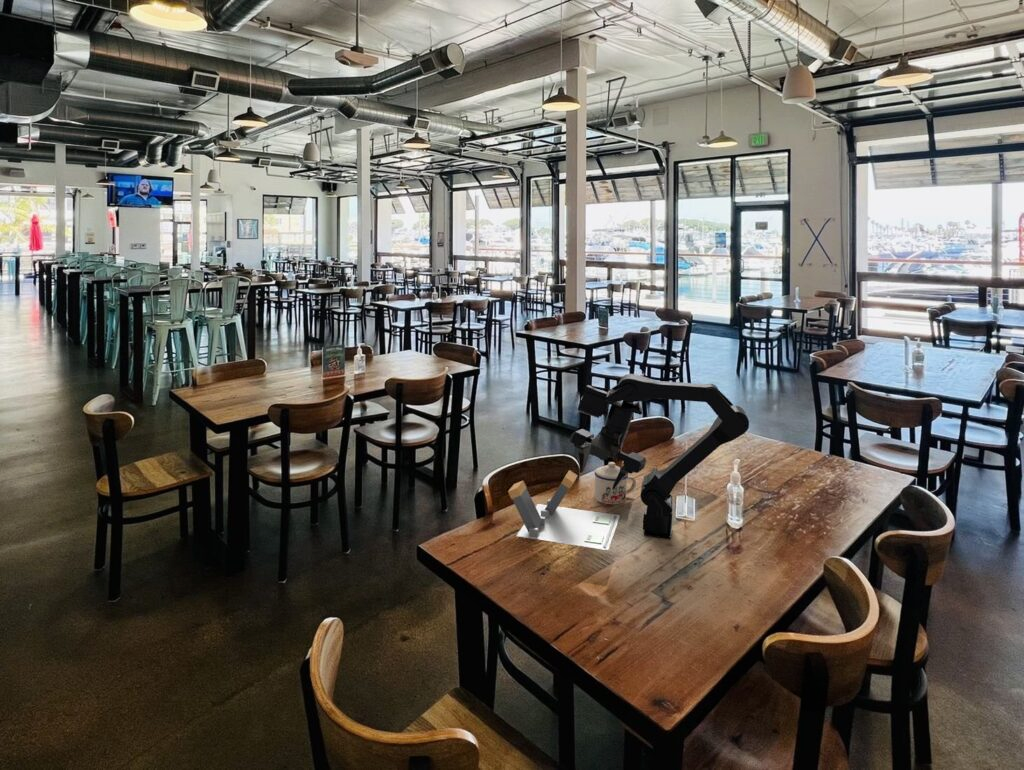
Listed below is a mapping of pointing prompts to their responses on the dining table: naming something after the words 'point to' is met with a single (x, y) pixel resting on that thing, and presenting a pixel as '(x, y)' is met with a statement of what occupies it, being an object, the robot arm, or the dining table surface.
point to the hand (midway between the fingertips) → (597, 480)
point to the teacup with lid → (611, 485)
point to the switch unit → (573, 527)
